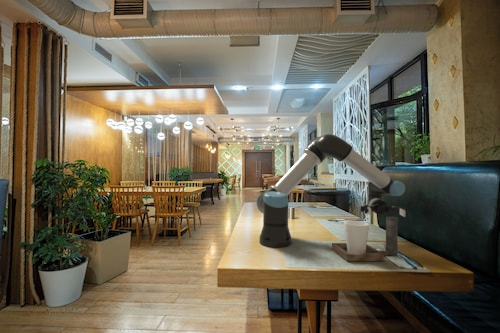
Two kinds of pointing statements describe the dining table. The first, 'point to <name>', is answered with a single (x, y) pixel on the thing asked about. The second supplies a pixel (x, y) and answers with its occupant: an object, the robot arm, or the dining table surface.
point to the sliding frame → (373, 253)
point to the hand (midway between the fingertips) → (387, 212)
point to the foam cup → (356, 236)
